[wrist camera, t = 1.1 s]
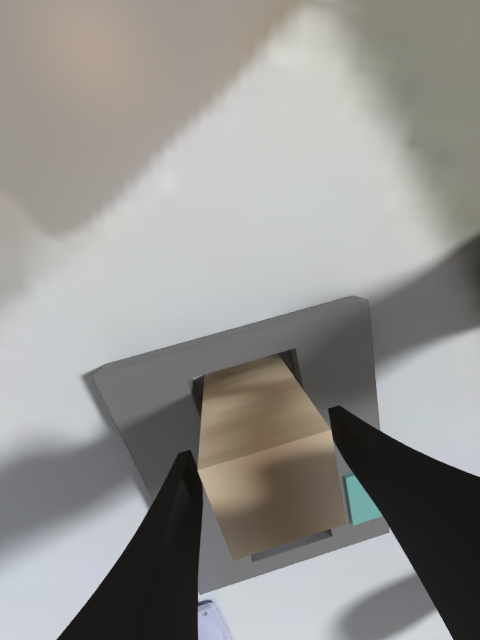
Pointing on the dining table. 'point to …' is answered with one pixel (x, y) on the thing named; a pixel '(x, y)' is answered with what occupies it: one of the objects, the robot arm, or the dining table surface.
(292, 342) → the socket panel
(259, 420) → the plug
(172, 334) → the dining table surface
